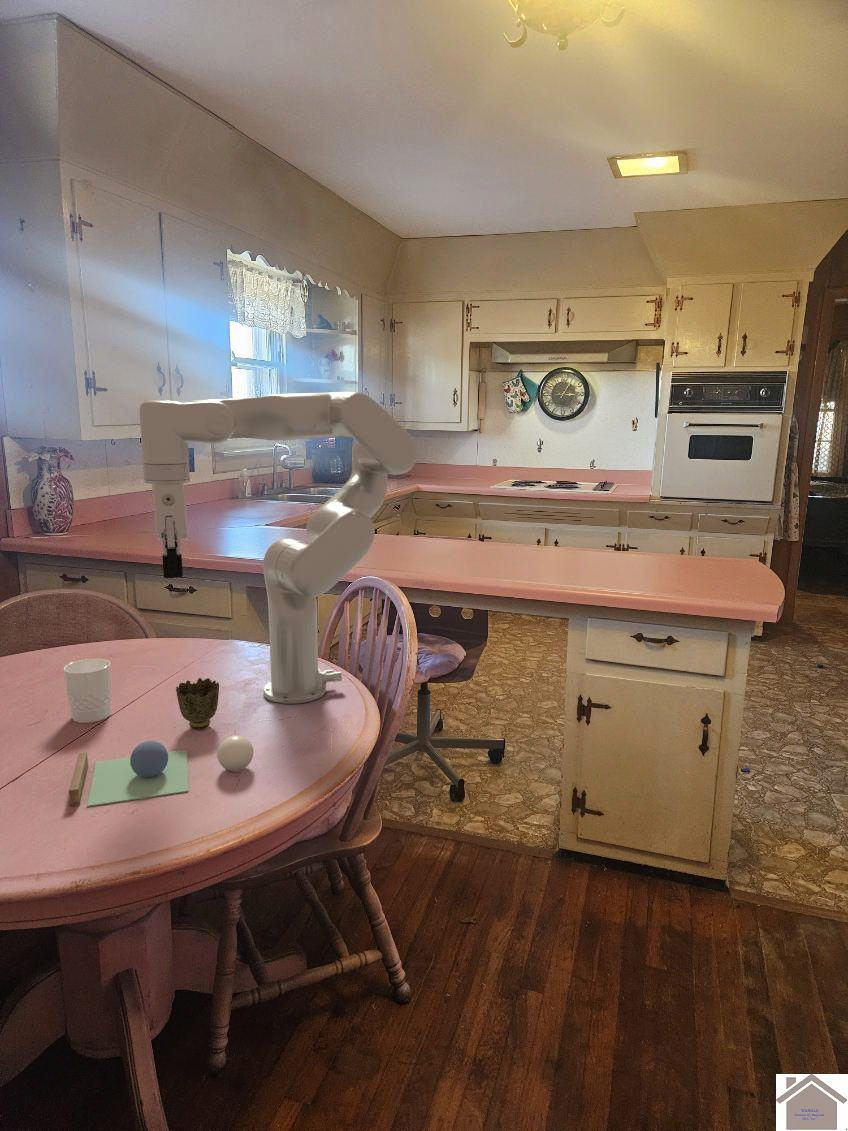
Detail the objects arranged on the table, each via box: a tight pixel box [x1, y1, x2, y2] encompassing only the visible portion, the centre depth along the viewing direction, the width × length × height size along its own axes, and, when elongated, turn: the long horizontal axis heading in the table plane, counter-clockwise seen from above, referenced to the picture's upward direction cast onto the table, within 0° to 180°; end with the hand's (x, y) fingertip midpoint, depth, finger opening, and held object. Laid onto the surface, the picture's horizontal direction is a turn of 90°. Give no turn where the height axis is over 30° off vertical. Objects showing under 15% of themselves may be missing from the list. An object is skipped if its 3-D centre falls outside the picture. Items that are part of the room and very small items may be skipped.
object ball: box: [130, 740, 169, 778], centre depth 113 cm, size 6×6×6 cm
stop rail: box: [68, 752, 89, 807], centre depth 110 cm, size 1×12×2 cm, turn 19°
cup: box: [175, 677, 220, 731], centre depth 130 cm, size 8×7×8 cm
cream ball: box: [216, 734, 254, 772], centre depth 116 cm, size 6×6×6 cm
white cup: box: [62, 657, 112, 724], centre depth 134 cm, size 8×8×10 cm
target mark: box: [86, 749, 189, 808], centre depth 113 cm, size 14×14×1 cm
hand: (173, 576), depth 129 cm, fingers closed
